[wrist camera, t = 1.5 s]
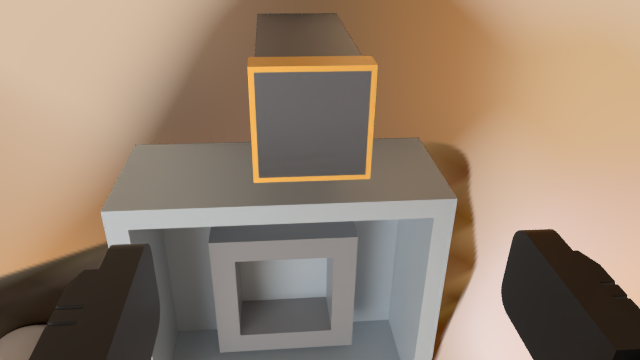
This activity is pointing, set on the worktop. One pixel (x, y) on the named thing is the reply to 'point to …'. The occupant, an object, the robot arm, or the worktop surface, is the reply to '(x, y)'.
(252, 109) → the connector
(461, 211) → the worktop surface
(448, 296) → the worktop surface
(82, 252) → the worktop surface
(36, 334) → the coffee cup
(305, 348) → the walled box
